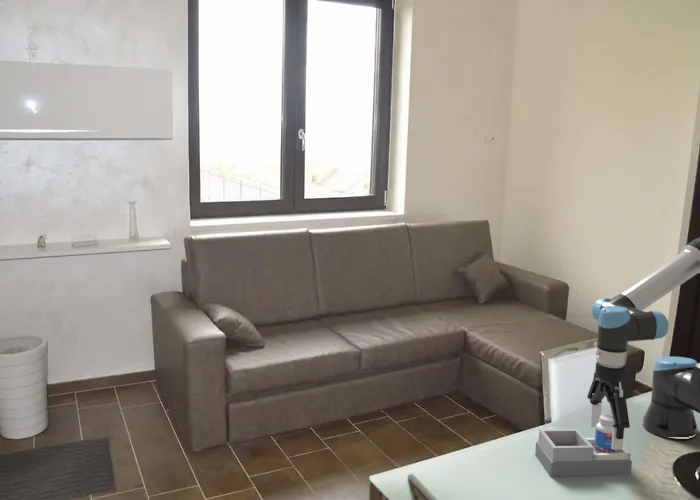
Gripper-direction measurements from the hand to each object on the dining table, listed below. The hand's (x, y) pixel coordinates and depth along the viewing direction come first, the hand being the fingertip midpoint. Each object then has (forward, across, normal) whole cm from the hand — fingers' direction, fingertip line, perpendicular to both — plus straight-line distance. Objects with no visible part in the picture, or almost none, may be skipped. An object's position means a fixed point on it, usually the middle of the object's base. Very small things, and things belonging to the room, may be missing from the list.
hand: (605, 437), depth 175 cm
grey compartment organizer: (+8, 0, -6) cm, 10 cm away
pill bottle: (+4, 0, 0) cm, 4 cm away
